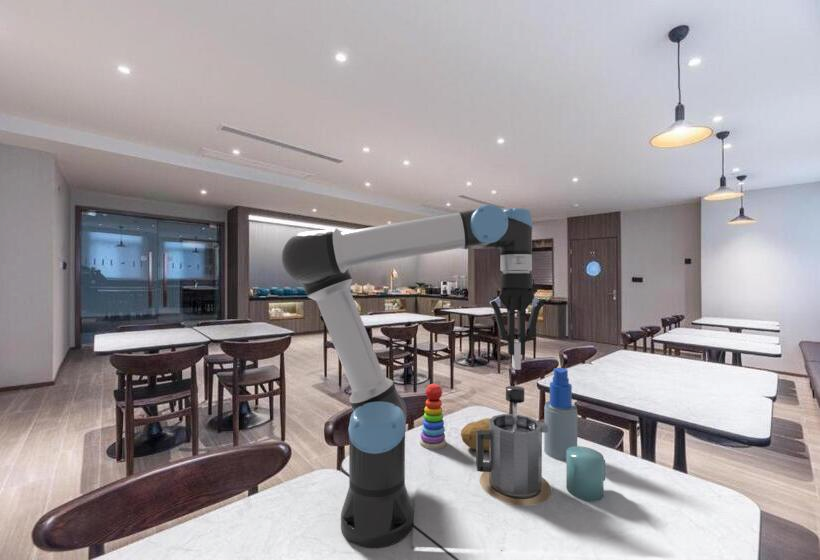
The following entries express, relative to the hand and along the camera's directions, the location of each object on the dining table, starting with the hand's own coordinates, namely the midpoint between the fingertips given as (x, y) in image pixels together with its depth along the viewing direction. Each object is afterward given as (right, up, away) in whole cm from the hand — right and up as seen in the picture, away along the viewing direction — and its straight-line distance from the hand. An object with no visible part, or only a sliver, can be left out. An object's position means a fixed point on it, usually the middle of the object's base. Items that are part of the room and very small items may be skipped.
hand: (516, 368), depth 90 cm
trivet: (0, -29, 0) cm, 29 cm away
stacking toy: (-19, -29, +22) cm, 41 cm away
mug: (+15, -29, -3) cm, 33 cm away
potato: (-3, -29, +19) cm, 35 cm away
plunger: (0, -17, 0) cm, 17 cm away
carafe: (0, -29, 0) cm, 29 cm away
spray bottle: (+18, -29, +16) cm, 38 cm away
